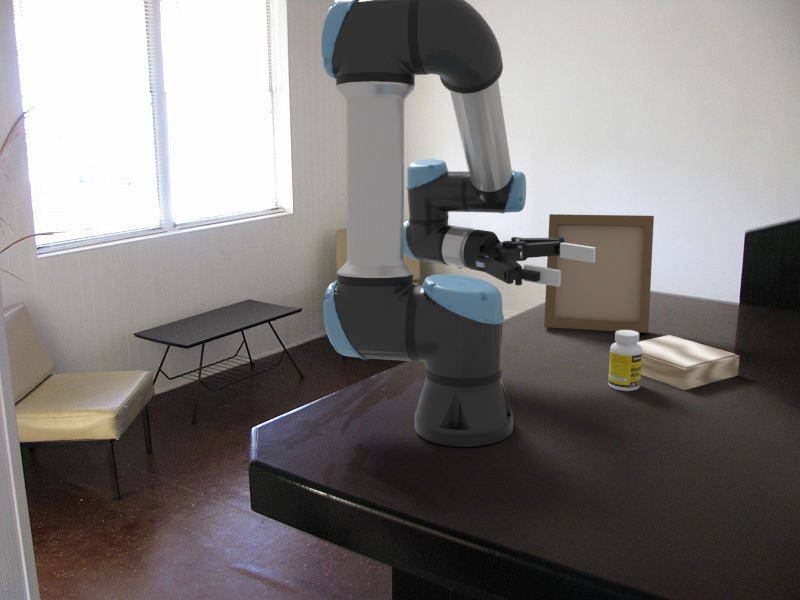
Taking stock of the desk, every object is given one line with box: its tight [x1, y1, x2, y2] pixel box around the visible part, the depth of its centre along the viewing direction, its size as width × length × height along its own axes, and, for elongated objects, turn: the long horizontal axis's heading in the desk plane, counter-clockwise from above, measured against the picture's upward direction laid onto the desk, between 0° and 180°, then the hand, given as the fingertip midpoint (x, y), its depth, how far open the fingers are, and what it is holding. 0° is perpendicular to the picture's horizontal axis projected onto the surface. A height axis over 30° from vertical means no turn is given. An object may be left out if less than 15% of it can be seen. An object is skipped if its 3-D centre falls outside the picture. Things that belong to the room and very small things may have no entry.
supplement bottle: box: [608, 330, 642, 392], centre depth 138 cm, size 5×5×10 cm
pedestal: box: [637, 334, 740, 391], centre depth 147 cm, size 14×16×4 cm
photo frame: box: [543, 213, 655, 334], centre depth 175 cm, size 15×22×25 cm
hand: (578, 266), depth 136 cm, fingers open, 13 cm apart
